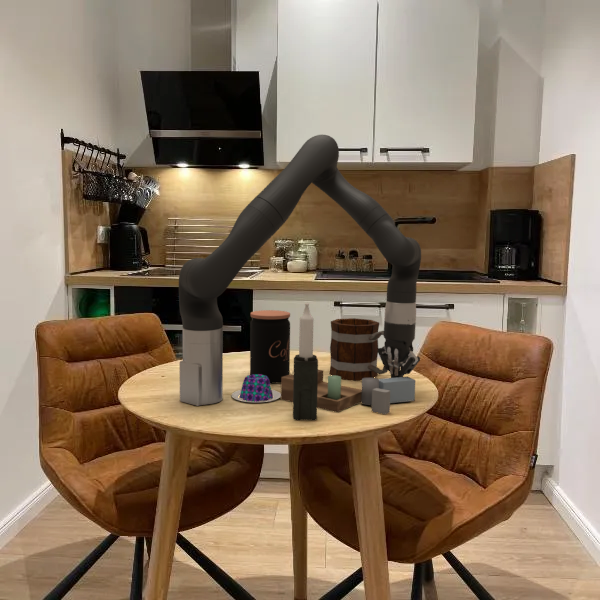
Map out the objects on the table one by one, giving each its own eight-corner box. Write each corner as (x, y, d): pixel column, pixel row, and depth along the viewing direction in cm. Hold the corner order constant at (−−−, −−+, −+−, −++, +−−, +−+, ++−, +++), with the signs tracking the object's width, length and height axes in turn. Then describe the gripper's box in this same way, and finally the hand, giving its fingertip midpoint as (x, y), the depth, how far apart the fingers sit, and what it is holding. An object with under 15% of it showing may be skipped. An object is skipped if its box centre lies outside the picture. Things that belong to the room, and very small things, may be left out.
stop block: (385, 414, 132) (386, 392, 131) (371, 411, 134) (372, 389, 133) (389, 412, 133) (390, 390, 132) (375, 409, 135) (376, 387, 135)
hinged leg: (366, 405, 136) (366, 382, 136) (358, 400, 140) (358, 378, 139) (415, 400, 141) (416, 378, 140) (406, 396, 145) (407, 374, 144)
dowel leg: (336, 409, 134) (336, 379, 134) (324, 407, 136) (325, 377, 135) (342, 406, 137) (343, 376, 136) (331, 404, 139) (332, 374, 138)
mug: (319, 373, 167) (320, 321, 165) (352, 366, 176) (353, 316, 174) (371, 388, 152) (373, 331, 151) (405, 380, 161) (407, 325, 160)
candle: (315, 413, 132) (318, 301, 129) (317, 420, 127) (319, 304, 124) (292, 412, 132) (294, 300, 128) (293, 420, 126) (295, 303, 123)
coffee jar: (271, 386, 153) (271, 317, 151) (241, 379, 160) (241, 312, 157) (297, 378, 161) (298, 313, 159) (268, 372, 168) (269, 309, 166)
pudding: (288, 394, 147) (288, 373, 146) (269, 407, 136) (269, 385, 135) (244, 389, 151) (244, 368, 151) (222, 401, 140) (222, 380, 139)
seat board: (337, 412, 132) (338, 388, 132) (281, 399, 142) (281, 377, 141) (364, 400, 142) (365, 378, 141) (310, 388, 151) (310, 367, 151)
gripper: (370, 317, 147) (366, 384, 150) (408, 325, 137) (404, 398, 139) (392, 315, 152) (388, 381, 154) (431, 323, 141) (426, 394, 143)
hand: (396, 389), depth 146 cm, fingers closed
